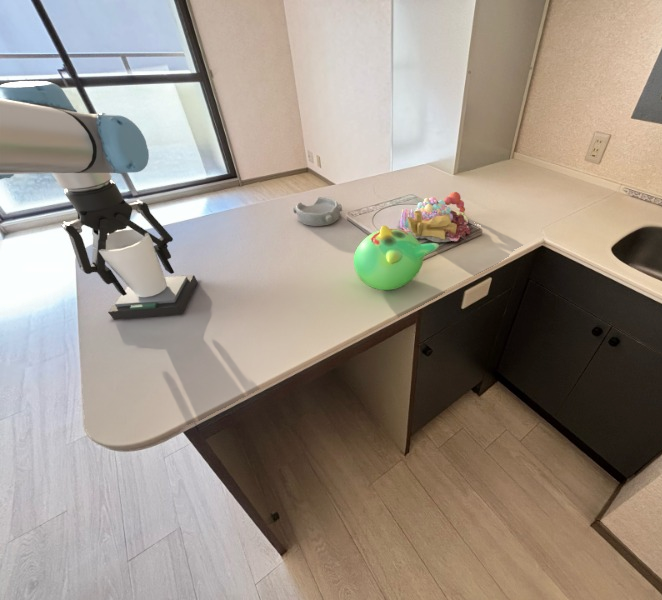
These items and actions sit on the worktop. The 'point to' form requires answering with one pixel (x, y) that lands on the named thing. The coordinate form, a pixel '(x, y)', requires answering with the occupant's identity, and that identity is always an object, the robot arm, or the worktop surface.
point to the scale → (156, 300)
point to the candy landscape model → (437, 220)
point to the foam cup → (135, 261)
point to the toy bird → (390, 258)
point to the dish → (319, 212)
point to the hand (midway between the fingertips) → (147, 281)
